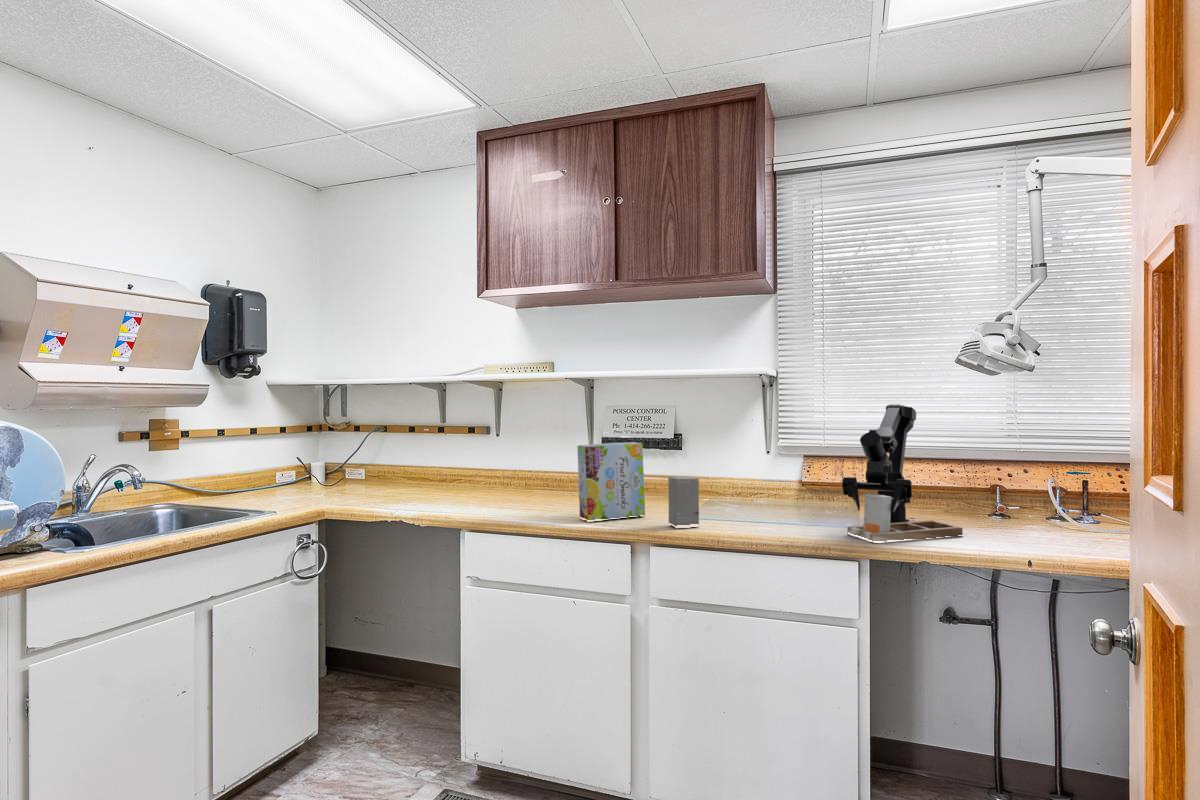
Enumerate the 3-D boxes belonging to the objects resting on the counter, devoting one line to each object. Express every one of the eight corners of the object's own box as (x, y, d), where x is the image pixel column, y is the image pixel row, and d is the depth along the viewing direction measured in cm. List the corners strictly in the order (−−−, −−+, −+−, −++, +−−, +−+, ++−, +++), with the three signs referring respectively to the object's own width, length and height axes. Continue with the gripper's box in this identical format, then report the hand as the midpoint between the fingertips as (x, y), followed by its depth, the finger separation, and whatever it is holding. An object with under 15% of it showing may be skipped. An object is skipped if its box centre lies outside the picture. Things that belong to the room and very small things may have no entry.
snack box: (635, 513, 236) (633, 441, 235) (646, 517, 228) (644, 442, 227) (577, 519, 227) (576, 444, 227) (587, 523, 219) (585, 445, 219)
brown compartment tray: (847, 535, 196) (847, 526, 195) (931, 528, 203) (931, 520, 203) (874, 543, 184) (873, 534, 184) (962, 536, 191) (962, 527, 191)
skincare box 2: (862, 535, 193) (864, 493, 192) (872, 534, 195) (874, 493, 195) (880, 539, 187) (882, 497, 187) (890, 538, 189) (892, 496, 189)
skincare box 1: (675, 529, 207) (675, 479, 207) (667, 525, 214) (666, 476, 214) (700, 527, 209) (700, 477, 209) (691, 523, 216) (691, 475, 216)
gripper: (842, 450, 198) (838, 492, 189) (911, 451, 190) (911, 495, 180) (845, 473, 206) (841, 515, 196) (911, 475, 197) (911, 519, 188)
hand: (875, 510), depth 190 cm, fingers open, 9 cm apart
